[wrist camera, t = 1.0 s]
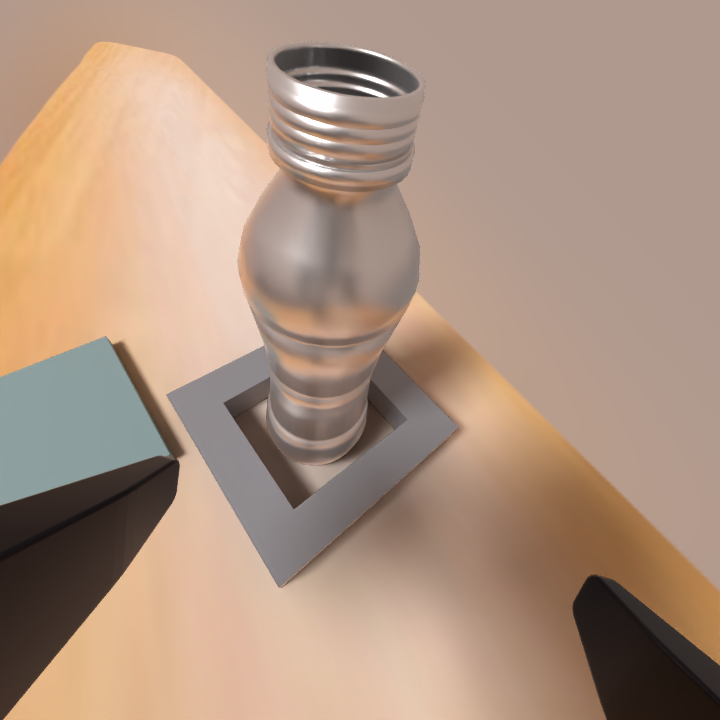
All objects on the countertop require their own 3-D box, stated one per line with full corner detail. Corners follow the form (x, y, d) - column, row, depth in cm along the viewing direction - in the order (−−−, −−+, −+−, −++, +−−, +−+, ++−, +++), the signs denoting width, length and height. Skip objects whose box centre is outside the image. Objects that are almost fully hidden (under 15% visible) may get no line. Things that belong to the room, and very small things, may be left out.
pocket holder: (281, 587, 18) (278, 587, 16) (178, 412, 23) (166, 394, 21) (445, 440, 24) (458, 427, 22) (338, 327, 29) (341, 307, 27)
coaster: (-56, 595, 16) (-75, 596, 15) (-88, 424, 20) (-105, 417, 19) (174, 459, 21) (169, 454, 20) (112, 344, 25) (105, 336, 24)
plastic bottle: (250, 449, 22) (103, 56, 6) (299, 373, 26) (294, 9, 10) (337, 491, 21) (451, 177, 5) (374, 407, 25) (507, 74, 9)
